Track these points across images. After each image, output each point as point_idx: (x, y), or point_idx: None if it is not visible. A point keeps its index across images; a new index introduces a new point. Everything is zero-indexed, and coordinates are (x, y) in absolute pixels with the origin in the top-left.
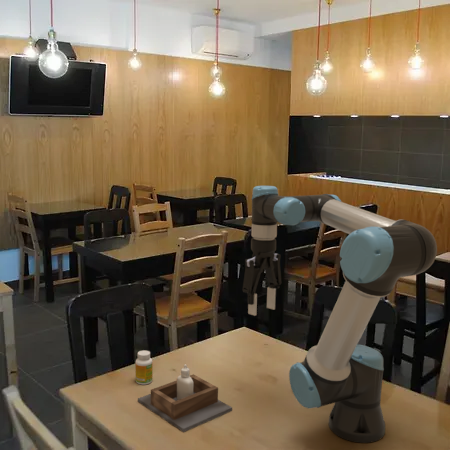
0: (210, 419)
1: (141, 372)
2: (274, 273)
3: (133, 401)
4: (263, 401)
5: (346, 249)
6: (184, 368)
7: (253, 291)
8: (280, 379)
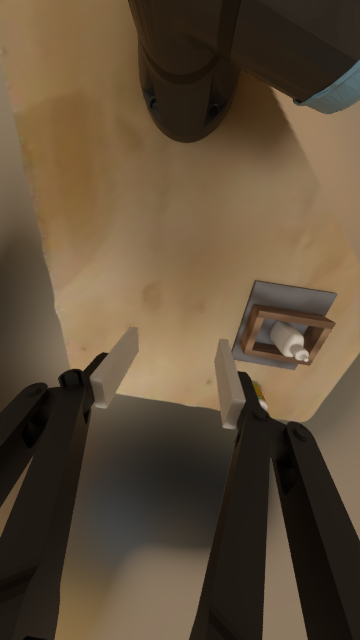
0: (292, 286)
1: (263, 396)
2: (4, 479)
3: (294, 370)
4: (209, 264)
5: None
6: (306, 356)
7: (264, 422)
8: (143, 282)
